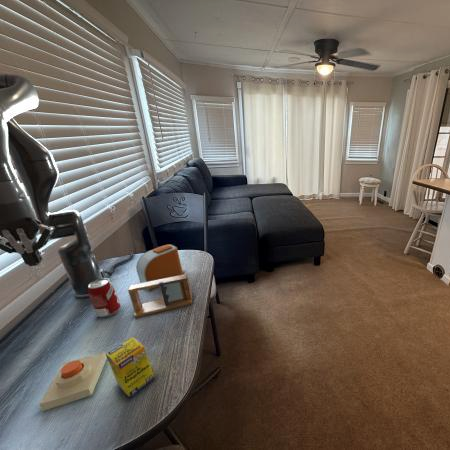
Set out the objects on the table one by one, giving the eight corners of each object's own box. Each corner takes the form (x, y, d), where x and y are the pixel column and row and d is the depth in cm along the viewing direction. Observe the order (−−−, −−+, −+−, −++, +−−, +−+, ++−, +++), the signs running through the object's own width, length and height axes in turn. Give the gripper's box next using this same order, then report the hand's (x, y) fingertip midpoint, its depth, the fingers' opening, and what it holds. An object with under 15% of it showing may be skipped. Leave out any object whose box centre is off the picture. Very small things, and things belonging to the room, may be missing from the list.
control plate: (66, 369, 63) (60, 358, 62) (107, 358, 66) (102, 347, 65) (43, 410, 54) (35, 399, 52) (91, 395, 57) (86, 383, 55)
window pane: (164, 301, 87) (157, 276, 83) (185, 296, 89) (179, 272, 85) (163, 310, 82) (155, 284, 79) (185, 305, 85) (178, 279, 81)
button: (67, 367, 60) (64, 362, 59) (85, 363, 61) (82, 357, 60) (60, 380, 57) (57, 375, 56) (79, 375, 58) (76, 370, 57)
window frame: (138, 306, 86) (130, 283, 83) (192, 294, 92) (187, 272, 89) (134, 317, 81) (126, 293, 78) (191, 303, 87) (186, 280, 84)
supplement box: (130, 399, 56) (116, 365, 52) (118, 386, 59) (104, 353, 55) (155, 378, 61) (144, 346, 57) (143, 367, 64) (132, 335, 60)
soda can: (108, 319, 80) (97, 290, 76) (92, 317, 82) (80, 288, 77) (125, 306, 87) (116, 278, 82) (110, 304, 88) (100, 276, 84)
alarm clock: (174, 268, 111) (168, 241, 106) (184, 273, 106) (178, 246, 102) (140, 283, 100) (131, 254, 95) (149, 290, 95) (140, 260, 90)
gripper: (49, 193, 61) (73, 253, 68) (-22, 199, 57) (11, 263, 63) (31, 200, 55) (60, 266, 61) (-51, 207, 50) (-11, 277, 57)
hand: (35, 264), depth 62 cm, fingers closed
